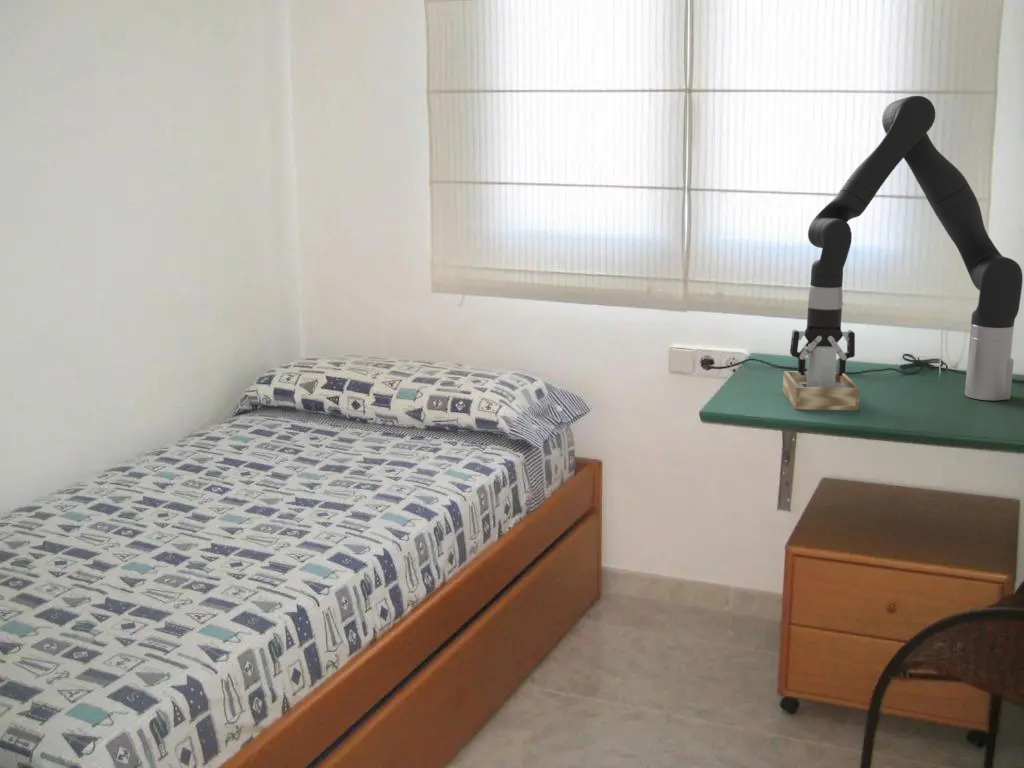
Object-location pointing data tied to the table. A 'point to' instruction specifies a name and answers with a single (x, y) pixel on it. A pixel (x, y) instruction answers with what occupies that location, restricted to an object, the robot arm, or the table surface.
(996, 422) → the table surface
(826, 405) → the crate
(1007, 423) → the table surface
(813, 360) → the skincare box
